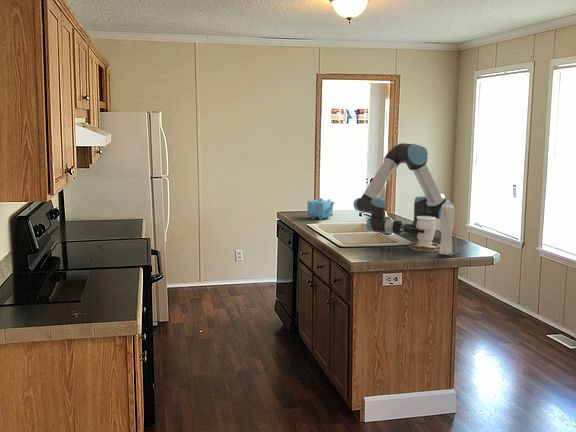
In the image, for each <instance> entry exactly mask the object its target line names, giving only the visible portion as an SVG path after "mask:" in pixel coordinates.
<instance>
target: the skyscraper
mask: <svg viewBox="0 0 576 432" xmlns="http://www.w3.org/2000/svg"><path fill="white" fill-rule="evenodd" d="M449 204H451V205H453V207H452V206H451V205H449ZM443 205H444V206H443ZM443 205H442V208H441V219H440V232H441V236H440V243H439V245H440V250H439V251H438V254H439V255H445V256H454V255H456V254H458V253H457V248H458V247H457V245H458V244H457V242H458V238H457V233H455V234H454V238H452V237H453V234H452V233H453V229H454V227H455V225H454V224H455V219H456V218H455V217H456V209H455V207H456V206H455V205H454V204H453V202H452V203H444V204H443ZM445 205H446V206H445ZM453 240H454V241H453Z"/></svg>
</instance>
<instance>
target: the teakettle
mask: <svg viewBox="0 0 576 432" xmlns="http://www.w3.org/2000/svg"><path fill="white" fill-rule="evenodd" d="M334 204H336V202H334V201H331V198H330V199H326V200H324V199H323V197H321V198H318V199H313V200H307V208H306V209H307V210H306V211H307V213H306V214H307V217H310V219H311V220H315V219H316V218H317V217H318V220H319V221H323V220H324V219H325V220H329V219H330V217H333V216H334V214H333V213H334Z"/></svg>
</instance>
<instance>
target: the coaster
mask: <svg viewBox="0 0 576 432" xmlns="http://www.w3.org/2000/svg"><path fill="white" fill-rule="evenodd" d="M417 242H418V241H414V242H410V243H408V249H410V250H411V251H416V252H428V253H433V252H439V250H440V243H437V242H432V243H433V244H432V245H420V244H418V243H417Z"/></svg>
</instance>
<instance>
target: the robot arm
mask: <svg viewBox="0 0 576 432" xmlns="http://www.w3.org/2000/svg"><path fill="white" fill-rule="evenodd" d="M428 155H429V153H428V150H427V148H426V147H425V146H424V145H423V144H419V143H405V142H403V143H398V144H395V145H394V146H393V147H392V148H391V149H390V150H389V151H388V152H387V154H385V156H384V158H383V162H382V164H381V165H380V167H379V168H378V170H377V172H376V173H375V175H374V177H373V178H372V179H371V181H370V183H369V185H368V186H367V188H366V189H365V190H364V192H363V194H362V195H361V197H358V198H356V199H354V202H353V208H354V210H356V211H358V212H361V213H367V214H370V217H369V218H367V219H366V225H365V226H366V227H365V228H366V230H367V231H369V232H374V233H385V234H386V233H387V234H388V235H390V234H394V235H395V234H396V235H401V233H409V234H415V235H416V236H417V235H418V233H420V234H431V229H422V228H419V230H418V228H416V224H417V220H418V219H417V216H432V217H435V218H436V220H437V219H438V220H441V208H442V205H443V204H444V203H452V204H453V202H452V201H450V200H447V198H446V196H445V195H444V194H442V193H441V191H440V190H439V188H438V186H437V184H436V182H435V180H434V177H433V175H432V174H431V171H430V169H429V167H428V164H427V163H428V158H429V156H428ZM401 164H406V166H407V168H408V169H409V171H412V172H413V174H414V176H415V178H416V180H417V182H418V184H419V186H420V188H421V190H422V192H423V194H424V196H416V197H415V198H414V202H413V221H412V223H404V224H403V222H402V220H399V219H398V220H394V219H385V212H386V211H385V207H386V201H385V198H383V197H378V196H379V194H380V192H381V191H382V188H383V187H384V186H385V184H386V183H387V181H388V180H389V178H390V177H391V176H392V175H391V174H393V173H394V170H395V169H398V167H399V165H401ZM449 205H451V204H449ZM453 205H454V204H453ZM453 205H451V206H452V207H453ZM443 206H444V205H443ZM445 206H446V205H445ZM436 229H437V226H436V225H435V232H436V231H437V230H436Z"/></svg>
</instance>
